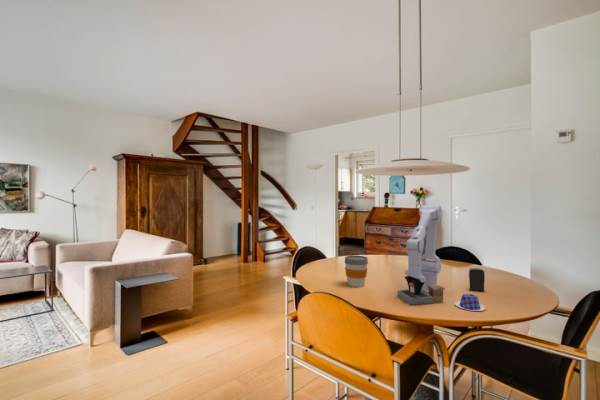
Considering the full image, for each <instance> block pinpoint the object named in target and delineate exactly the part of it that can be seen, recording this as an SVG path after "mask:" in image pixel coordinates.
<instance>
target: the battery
mask: <svg viewBox="0 0 600 400" xmlns="http://www.w3.org/2000/svg"><path fill="white" fill-rule="evenodd" d="M485 275H486V274H485V270H483V269H482V268H476V267H470V268H469V269H468V281H469V283H468V285H469V286H468V287H469V288H468V290H469V291H474V292H485V280H486V279H485V278H486V276H485Z"/></svg>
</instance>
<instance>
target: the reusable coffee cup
mask: <svg viewBox="0 0 600 400" xmlns="http://www.w3.org/2000/svg"><path fill="white" fill-rule="evenodd" d="M368 263H369V262H368V257H367V256H364V255H346V256H345V257H344V264H345V268H344V269H345V271H344V272H345V276H346V279H347V285H348V286H350V287H351V288H362V287H364V286H365V283H366V277H367V273H368Z"/></svg>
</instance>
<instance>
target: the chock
mask: <svg viewBox="0 0 600 400" xmlns="http://www.w3.org/2000/svg"><path fill="white" fill-rule="evenodd" d="M428 288H429V293H428V295H430V296H432V297H433V303H435V304H436V303H444V290H445V287H443V286H442V285H440V284H437V285H428Z"/></svg>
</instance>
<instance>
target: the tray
mask: <svg viewBox="0 0 600 400" xmlns="http://www.w3.org/2000/svg"><path fill="white" fill-rule="evenodd" d="M396 293H397V298H398V299H400V300H402V301H403V302H405V303H406V304H408V305H409V306H419V305H433V297H432V296H430V295H429V293H426V292H425V291H423V290H421V292H420V295H418V297H415V298H411V297H410V291H409V289H399V290H397V292H396Z"/></svg>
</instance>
